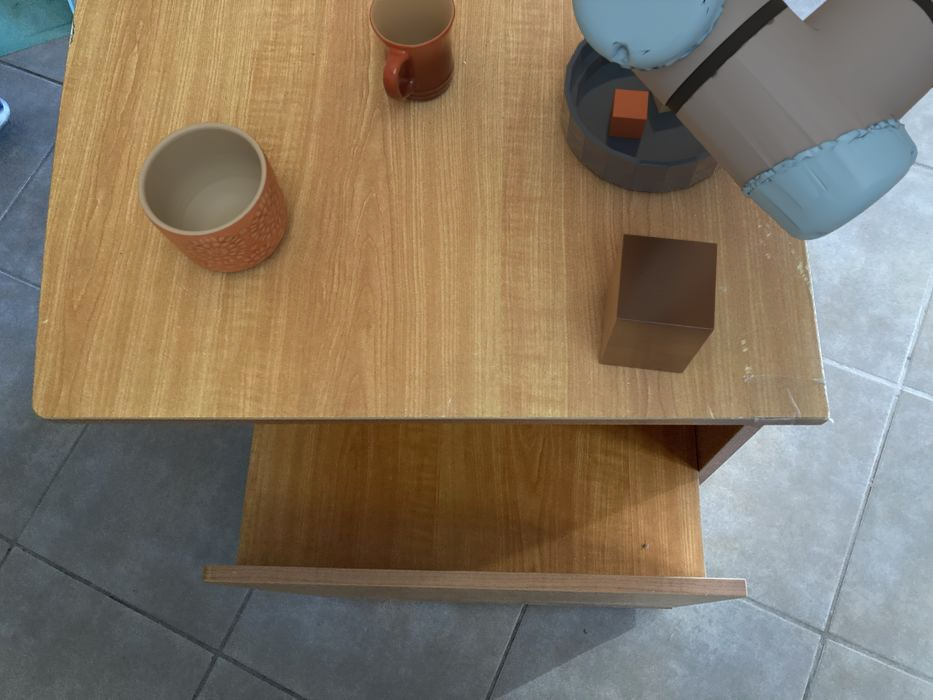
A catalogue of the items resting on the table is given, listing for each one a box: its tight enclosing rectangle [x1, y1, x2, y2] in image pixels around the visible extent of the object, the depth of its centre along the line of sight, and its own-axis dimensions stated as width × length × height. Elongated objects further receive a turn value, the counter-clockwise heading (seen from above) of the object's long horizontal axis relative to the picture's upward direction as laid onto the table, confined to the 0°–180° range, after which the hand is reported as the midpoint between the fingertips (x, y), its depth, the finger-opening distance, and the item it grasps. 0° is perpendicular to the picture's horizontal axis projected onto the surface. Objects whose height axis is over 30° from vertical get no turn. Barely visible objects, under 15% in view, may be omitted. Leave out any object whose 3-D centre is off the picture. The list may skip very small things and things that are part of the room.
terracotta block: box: [609, 89, 649, 139], centre depth 82 cm, size 4×4×4 cm
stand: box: [599, 233, 718, 374], centre depth 70 cm, size 8×8×12 cm
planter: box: [137, 121, 288, 273], centre depth 76 cm, size 12×12×11 cm
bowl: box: [560, 37, 721, 194], centre depth 81 cm, size 19×19×6 cm
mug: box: [368, 0, 456, 102], centre depth 82 cm, size 12×9×10 cm
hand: (730, 12), depth 69 cm, fingers closed on pestle, 3 cm apart
